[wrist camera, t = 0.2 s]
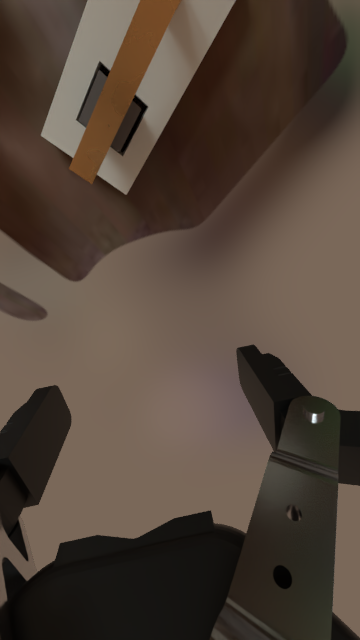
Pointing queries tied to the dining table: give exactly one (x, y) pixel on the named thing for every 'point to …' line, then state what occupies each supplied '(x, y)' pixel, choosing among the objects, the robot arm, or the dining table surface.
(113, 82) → the orange lever handle
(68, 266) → the dining table surface
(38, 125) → the dining table surface
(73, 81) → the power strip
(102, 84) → the plug
